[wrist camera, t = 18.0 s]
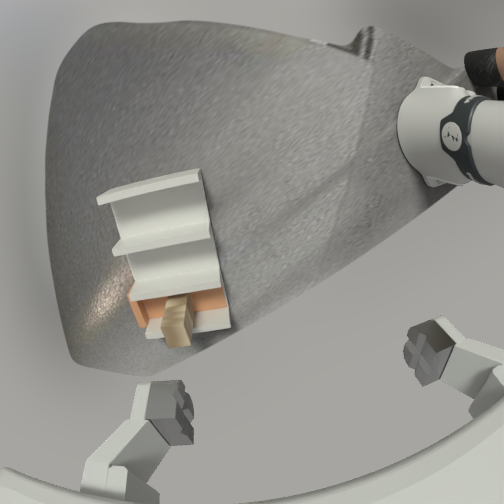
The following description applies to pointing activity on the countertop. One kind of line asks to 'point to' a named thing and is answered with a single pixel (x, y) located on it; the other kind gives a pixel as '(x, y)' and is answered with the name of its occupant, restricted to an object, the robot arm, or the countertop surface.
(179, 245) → the rack
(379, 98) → the countertop surface
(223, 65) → the countertop surface
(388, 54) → the countertop surface
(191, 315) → the block
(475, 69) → the travel mug
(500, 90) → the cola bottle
